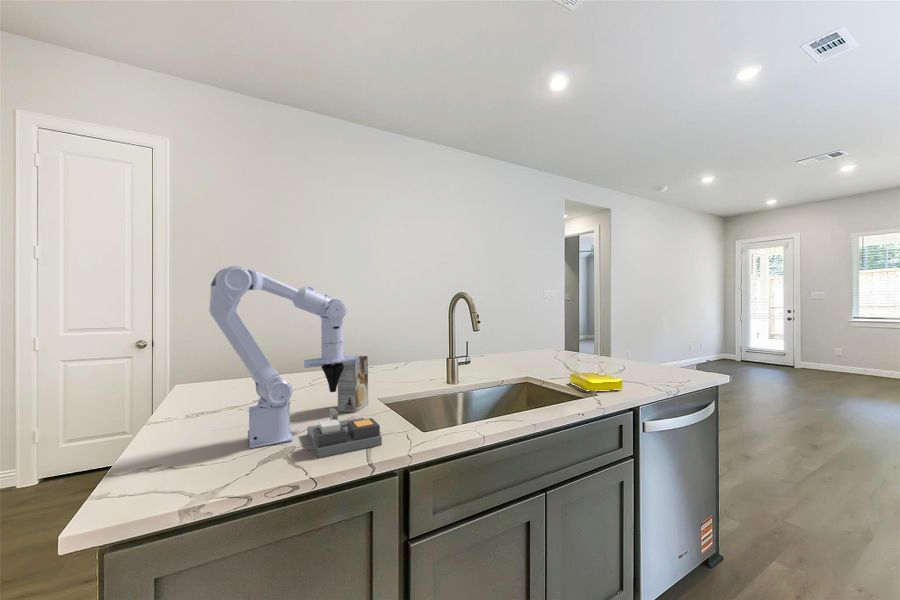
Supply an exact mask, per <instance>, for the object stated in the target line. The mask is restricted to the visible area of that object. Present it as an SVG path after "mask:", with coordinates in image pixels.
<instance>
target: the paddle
mask: <svg viewBox="0 0 900 600" xmlns="http://www.w3.org/2000/svg"><path fill="white" fill-rule="evenodd" d="M338 412H339V411H338V410H336V408H334V407H333V408H329V420H335V419H337V421H338V422H339V417H338V416H339V414H338Z"/></svg>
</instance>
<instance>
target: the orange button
mask: <svg viewBox="0 0 900 600" xmlns="http://www.w3.org/2000/svg"><path fill="white" fill-rule="evenodd" d="M366 419H367V420H361V421H355V422H353V425H354V426H355V427H356V428H360V427H366V426H371V425H374V424H373V423H372V422H371V421H370V420H369V419H368V418H366Z"/></svg>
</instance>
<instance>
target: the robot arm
mask: <svg viewBox="0 0 900 600" xmlns="http://www.w3.org/2000/svg"><path fill="white" fill-rule="evenodd" d="M256 290H257V291H258V290H259V291H260V290H262V291H265V292H267V293H271V294H273V295H276V296H279V297H282V298H283V299H288V300H290V301H292V304H293V306H294V308H297V309H300V310H302V311H305V312H308V313H310V314H312V315H313V314H314V315H316V316H319V318H320V319H321V321H320V323H321V324H320V325H321V326H320V328H321V329H320V331H321V342H320V343H321V346H320V347H321V348H320V349H321V357H318V358H317V357H316V358H310V359H303V366H304V368H305V369H309V368H317V367H321V369H322V371H323V373H324V375H325V377H326V381H327V384H328V390H329V392H330V393H334V392H335V393H336V392H337V389H338V381H339V378H340V375H341V373H342V371H343V369H344V366H343V364H350V363H359V356H360V355H344V325H343V324H344V318H345V316H346V315H347V311H348V310H347V309H346V306H345V304H344V303H343V301H341V299H337V298H331V295H330V294H326V293H325V294H322V293H320V292H318V291H315V288H314V287H312V286H308V287H306V286H303V287H300V288H298V289H297V288H295V287H293V286H291V285H289V284H286V283H284V282H282V281H281V280H278V279H275V278H273V277H270V276H269V275H266V274H264V273H262V272H260V271H255V270H252V269H247V268H245V267H243V266H241V265H240V266H239V265H231V266H228V267H227V268H226V267H225V268H222V269H220V270H219V271H218V272H216V274H215V276H213V279H212V281H211V283H210V297H209V299H210V300H209V309H208V310H209V312H210V315H211V317H212V318H213V320H214V321H215V323H216V324H217V326H218V327H219V329H220V330H221V332H222V333H223V334H224V336H225V338H226V339H227V341H228V342H229V344H230V345H231V347H232V348H233V349H234V351H235V353H236V355H238V357H239V359H241V362H242V363H243V365H244V366H245V368H246V369H247V371H248V372H249V374H250V375H251V376H250V377H251V378H252V380H253V382H254V385H255V392H256V394H257V396H259V400H258V402H257V405H253V406H249V407H248V430H247V438H248V439H249V448H250V449H253V448H258V447H259V448H260V447H265V446H270V445H275V444H281V443H287V442H292V441H293V440H294V438H293V434H292V432H291V425H290V424H291V423H290V422H291V420H290V419H291V417H290V415H291V413H290V411H291V410H290V399H291V397H292V395H293V387H292V384H291V383H290V382H289V381H287V380H286V379H284V378H282V377H281V376H280V373H278V371H277V370H276V369H275V368H274V367H273V366H272V365H271V363H270V361H269V360H268V358H267V357H266V355H265V353H264V352H263V350H262V349H261V347H260V346H259V344H258V343H257V341H256V340H255V338H254V336H253V335H252V333H251V332H250V330H249V329H248V327H247V325H246V324H245V322H244V321H243V318H242V317H240V315H239V313H238V309H237V308H238V307H239V303H240V302H241V298H242V297H243V296H244V295H245V294H246V292H248V291H256Z"/></svg>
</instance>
